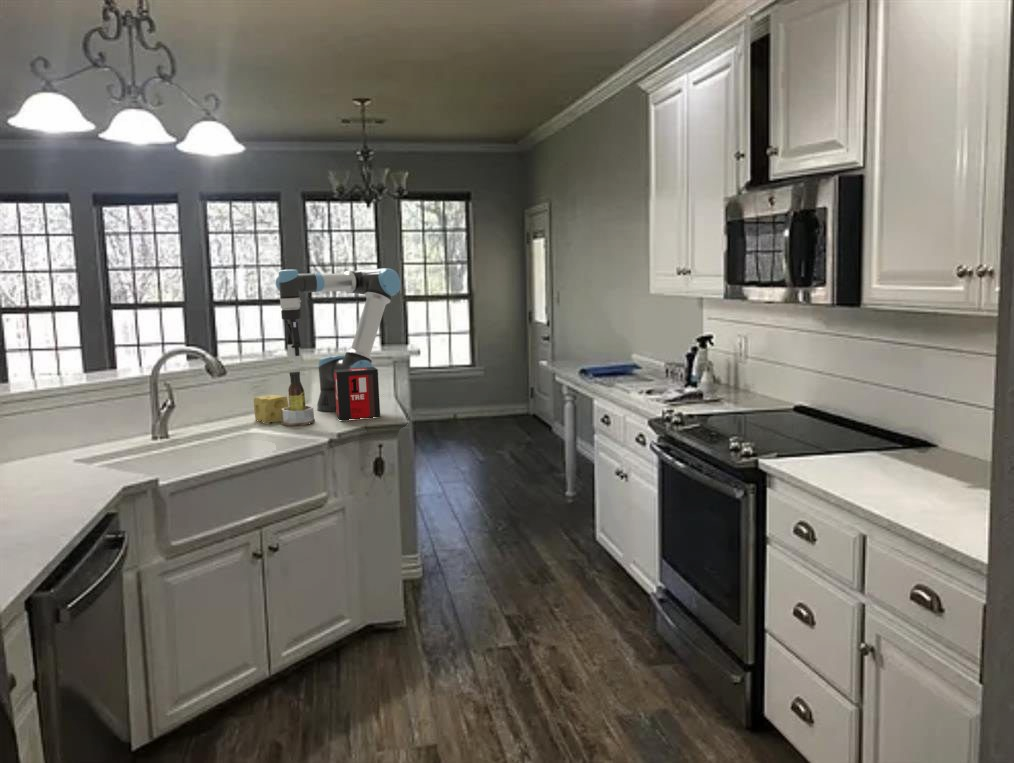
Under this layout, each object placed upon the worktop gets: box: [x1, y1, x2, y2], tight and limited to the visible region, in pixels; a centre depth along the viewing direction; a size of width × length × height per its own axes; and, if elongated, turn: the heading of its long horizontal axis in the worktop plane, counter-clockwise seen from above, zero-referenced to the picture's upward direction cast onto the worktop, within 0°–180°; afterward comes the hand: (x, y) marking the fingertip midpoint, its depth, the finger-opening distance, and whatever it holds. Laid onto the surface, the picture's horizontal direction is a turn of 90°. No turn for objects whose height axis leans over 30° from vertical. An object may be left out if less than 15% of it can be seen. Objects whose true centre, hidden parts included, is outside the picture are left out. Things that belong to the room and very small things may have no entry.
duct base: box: [281, 418, 316, 427], centre depth 345 cm, size 13×13×1 cm
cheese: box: [253, 394, 289, 424], centre depth 353 cm, size 10×11×10 cm
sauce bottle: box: [287, 370, 307, 411], centre depth 344 cm, size 7×6×20 cm
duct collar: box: [281, 405, 315, 423], centre depth 345 cm, size 12×12×5 cm
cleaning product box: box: [334, 366, 381, 421], centre depth 351 cm, size 16×9×20 cm, turn 108°
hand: (294, 362), depth 342 cm, fingers open, 13 cm apart
